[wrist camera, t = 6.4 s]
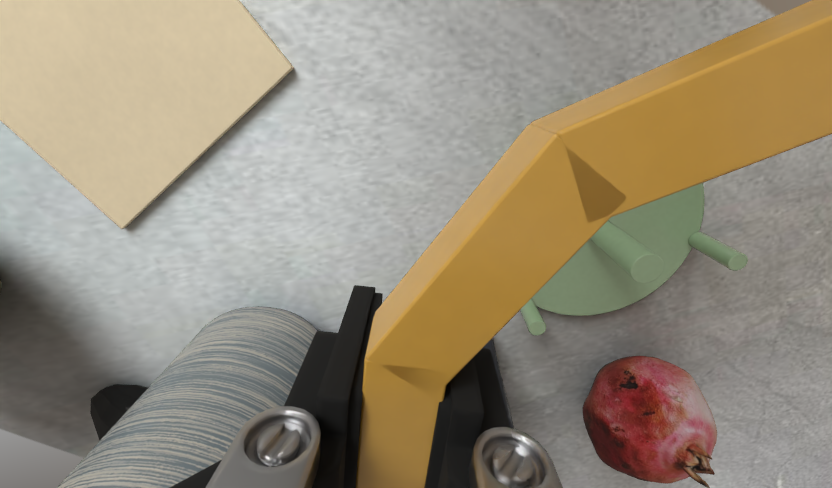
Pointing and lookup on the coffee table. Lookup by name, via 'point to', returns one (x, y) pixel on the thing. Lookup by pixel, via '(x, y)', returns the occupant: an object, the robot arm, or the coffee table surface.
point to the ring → (579, 210)
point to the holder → (630, 259)
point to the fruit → (650, 421)
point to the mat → (130, 88)
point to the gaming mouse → (113, 405)
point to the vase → (200, 401)
